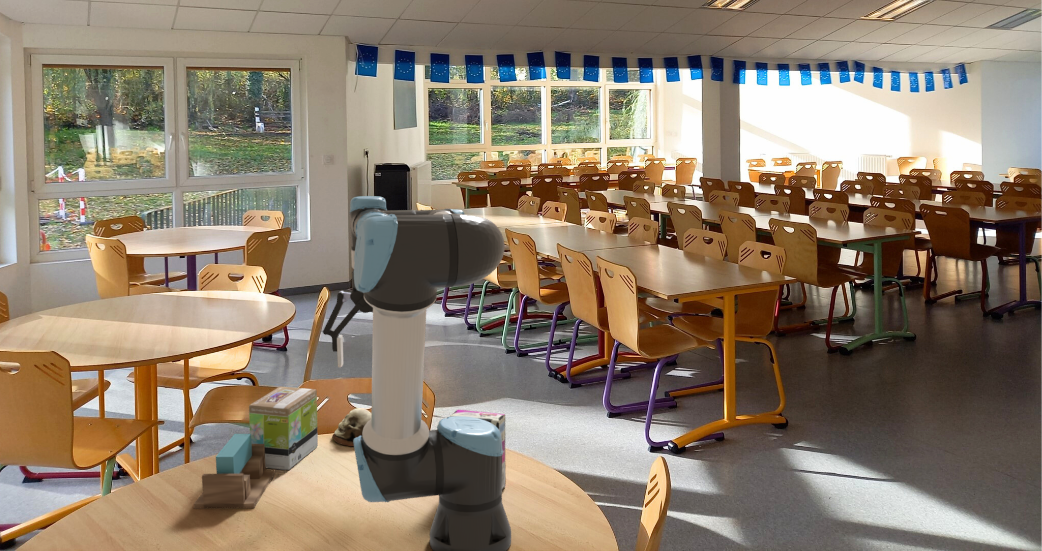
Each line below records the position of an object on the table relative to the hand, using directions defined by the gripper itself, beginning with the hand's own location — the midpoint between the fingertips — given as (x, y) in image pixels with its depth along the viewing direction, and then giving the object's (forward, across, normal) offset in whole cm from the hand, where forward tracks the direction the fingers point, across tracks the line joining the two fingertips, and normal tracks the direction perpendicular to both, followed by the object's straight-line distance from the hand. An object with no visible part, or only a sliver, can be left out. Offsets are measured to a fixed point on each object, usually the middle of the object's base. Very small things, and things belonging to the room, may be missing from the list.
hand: (372, 365), depth 186 cm
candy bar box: (+25, -23, +8) cm, 35 cm away
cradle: (+25, +28, +8) cm, 38 cm away
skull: (+25, +7, -22) cm, 34 cm away
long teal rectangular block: (+20, +28, +8) cm, 35 cm away
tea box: (+25, +22, -10) cm, 35 cm away
